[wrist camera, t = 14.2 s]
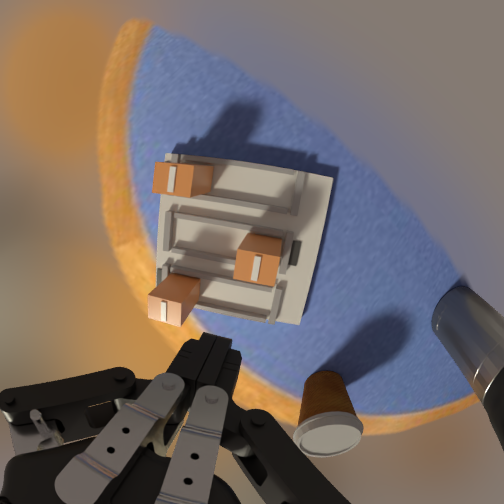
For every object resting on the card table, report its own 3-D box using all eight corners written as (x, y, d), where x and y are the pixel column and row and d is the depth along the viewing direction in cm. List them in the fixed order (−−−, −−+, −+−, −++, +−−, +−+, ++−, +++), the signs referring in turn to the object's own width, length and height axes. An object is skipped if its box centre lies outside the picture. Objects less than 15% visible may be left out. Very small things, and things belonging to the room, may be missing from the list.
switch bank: (331, 177, 31) (334, 178, 28) (299, 319, 36) (299, 328, 34) (170, 153, 32) (162, 152, 30) (160, 290, 38) (152, 297, 36)
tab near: (214, 166, 30) (193, 165, 23) (210, 191, 31) (189, 198, 24) (181, 162, 31) (154, 161, 24) (178, 187, 32) (151, 192, 25)
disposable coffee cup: (282, 383, 40) (277, 442, 29) (330, 352, 37) (339, 412, 26) (317, 410, 41) (320, 464, 30) (362, 383, 39) (376, 438, 27)
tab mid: (281, 238, 32) (280, 257, 25) (277, 263, 33) (274, 287, 26) (247, 232, 32) (236, 249, 25) (244, 256, 33) (232, 279, 26)
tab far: (200, 278, 35) (180, 304, 28) (198, 299, 35) (179, 327, 29) (171, 272, 35) (147, 295, 28) (171, 292, 36) (147, 318, 29)
